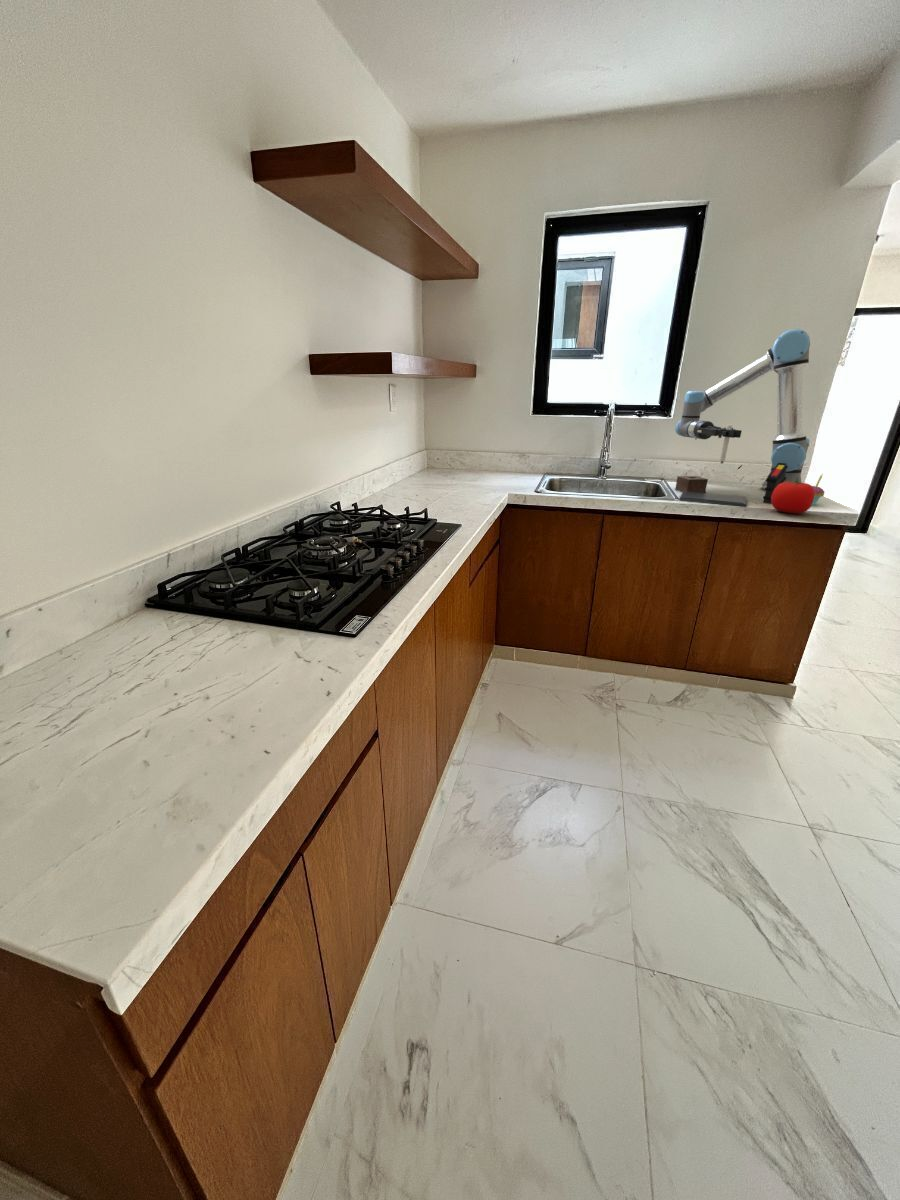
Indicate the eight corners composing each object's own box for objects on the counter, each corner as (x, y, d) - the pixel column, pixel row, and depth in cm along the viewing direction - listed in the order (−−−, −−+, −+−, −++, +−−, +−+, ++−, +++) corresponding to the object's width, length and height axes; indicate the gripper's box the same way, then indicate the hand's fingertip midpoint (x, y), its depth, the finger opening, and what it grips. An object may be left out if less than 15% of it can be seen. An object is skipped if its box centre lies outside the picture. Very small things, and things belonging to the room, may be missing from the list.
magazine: (784, 494, 208) (788, 463, 199) (771, 512, 203) (774, 480, 194) (774, 493, 211) (777, 462, 201) (761, 511, 205) (764, 479, 196)
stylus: (724, 463, 207) (732, 425, 201) (724, 463, 206) (732, 425, 200) (719, 463, 208) (727, 425, 202) (719, 463, 206) (727, 425, 201)
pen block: (693, 489, 229) (695, 475, 226) (705, 492, 221) (708, 479, 218) (675, 489, 228) (677, 476, 225) (686, 493, 219) (689, 479, 217)
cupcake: (815, 502, 203) (824, 472, 198) (824, 506, 195) (834, 475, 190) (792, 501, 205) (800, 471, 200) (800, 505, 197) (809, 474, 192)
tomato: (813, 512, 186) (822, 480, 181) (803, 518, 177) (813, 485, 172) (774, 507, 194) (782, 476, 190) (763, 512, 185) (771, 480, 181)
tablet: (745, 499, 208) (746, 496, 208) (745, 506, 195) (746, 503, 194) (683, 493, 219) (683, 490, 218) (679, 500, 205) (679, 497, 205)
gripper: (715, 438, 221) (752, 443, 199) (684, 438, 219) (717, 444, 197) (718, 420, 218) (756, 423, 196) (687, 420, 216) (722, 424, 195)
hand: (737, 434), depth 197 cm, fingers closed on stylus, 2 cm apart
